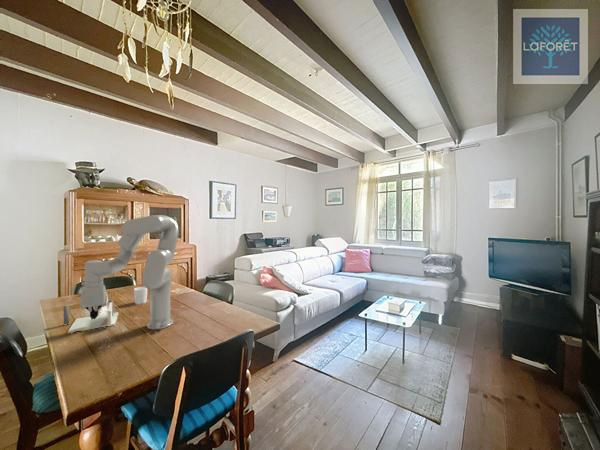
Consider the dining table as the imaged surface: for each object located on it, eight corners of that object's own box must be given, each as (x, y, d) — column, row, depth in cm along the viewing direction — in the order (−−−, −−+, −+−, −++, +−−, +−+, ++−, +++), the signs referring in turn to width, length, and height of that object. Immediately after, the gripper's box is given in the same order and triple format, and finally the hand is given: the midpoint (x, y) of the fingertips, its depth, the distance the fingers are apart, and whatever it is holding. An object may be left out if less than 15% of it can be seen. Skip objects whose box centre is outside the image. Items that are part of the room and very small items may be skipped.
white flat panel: (109, 316, 139) (109, 302, 139) (112, 315, 139) (112, 302, 139) (107, 326, 126) (107, 311, 126) (110, 325, 127) (110, 310, 126)
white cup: (150, 301, 169) (150, 286, 169) (141, 305, 162) (141, 290, 161) (139, 300, 170) (139, 286, 170) (130, 304, 162) (130, 289, 162)
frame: (114, 325, 130) (114, 307, 130) (55, 336, 118) (55, 316, 118) (118, 313, 146) (118, 297, 146) (66, 322, 134) (66, 304, 134)
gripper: (72, 287, 121) (72, 323, 121) (109, 284, 127) (109, 318, 128) (79, 283, 128) (79, 317, 128) (113, 281, 134) (113, 313, 134)
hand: (94, 318), depth 128 cm, fingers closed
